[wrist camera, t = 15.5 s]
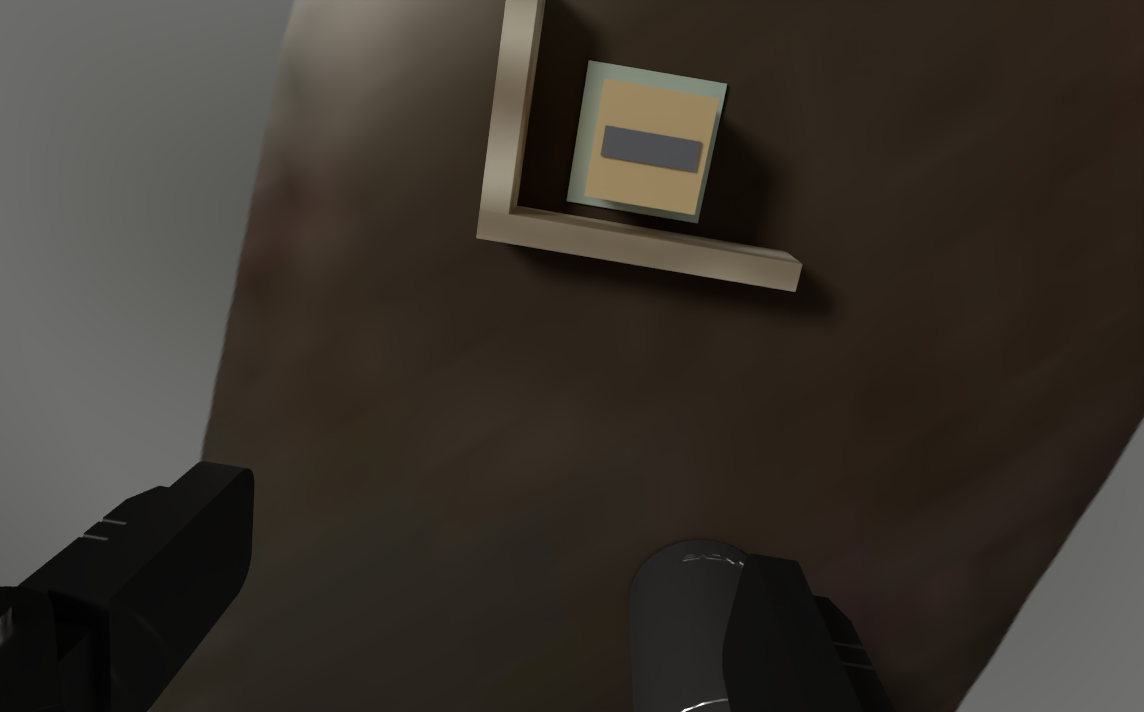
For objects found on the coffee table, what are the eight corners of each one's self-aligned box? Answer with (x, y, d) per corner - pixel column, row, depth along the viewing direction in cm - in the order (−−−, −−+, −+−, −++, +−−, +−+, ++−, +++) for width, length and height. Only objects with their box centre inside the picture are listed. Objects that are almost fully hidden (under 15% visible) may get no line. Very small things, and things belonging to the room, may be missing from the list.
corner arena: (778, 276, 44) (795, 291, 40) (487, 227, 44) (476, 237, 40) (838, 36, 40) (863, 27, 36) (519, -19, 40) (510, -34, 36)
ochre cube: (704, 101, 41) (719, 98, 36) (683, 203, 43) (694, 215, 37) (604, 83, 41) (603, 78, 36) (586, 186, 43) (584, 196, 37)
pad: (697, 222, 43) (697, 223, 43) (566, 200, 43) (566, 200, 43) (726, 84, 41) (727, 84, 41) (588, 60, 41) (588, 60, 41)
